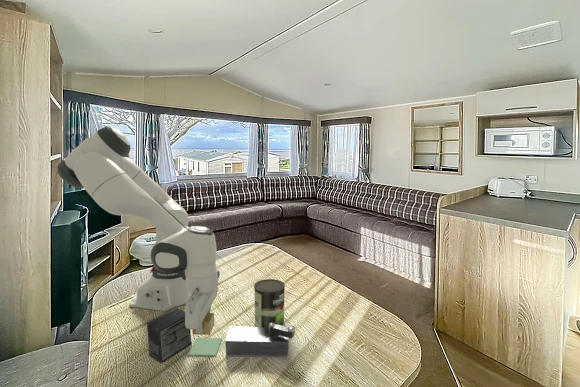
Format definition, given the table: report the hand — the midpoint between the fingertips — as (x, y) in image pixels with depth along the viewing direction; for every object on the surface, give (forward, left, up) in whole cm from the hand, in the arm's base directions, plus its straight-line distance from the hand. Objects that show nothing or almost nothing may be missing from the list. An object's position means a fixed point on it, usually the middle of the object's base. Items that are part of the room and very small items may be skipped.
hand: (203, 325), depth 93 cm
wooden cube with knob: (0, 0, -1) cm, 1 cm away
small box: (-10, -1, -8) cm, 12 cm away
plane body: (+16, 0, -7) cm, 18 cm away
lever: (+23, -2, -2) cm, 24 cm away
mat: (0, 0, -7) cm, 7 cm away
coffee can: (+19, +13, -8) cm, 24 cm away
